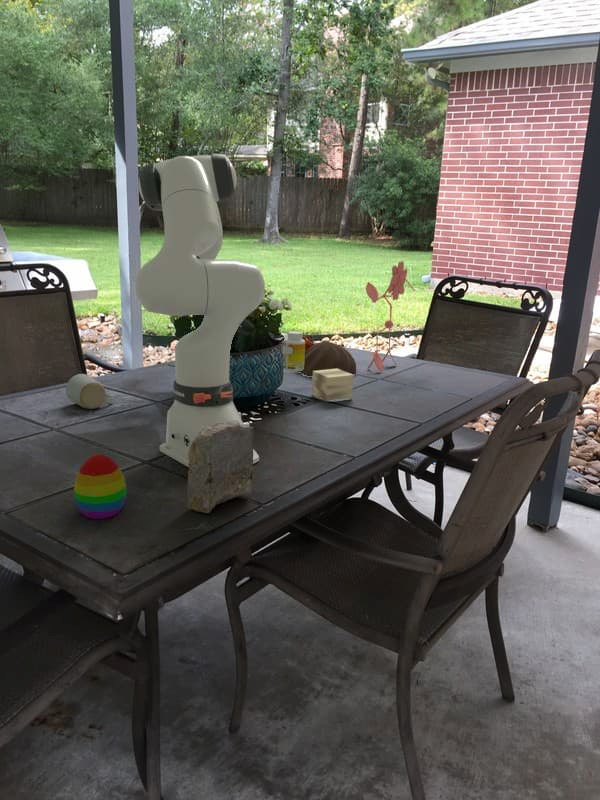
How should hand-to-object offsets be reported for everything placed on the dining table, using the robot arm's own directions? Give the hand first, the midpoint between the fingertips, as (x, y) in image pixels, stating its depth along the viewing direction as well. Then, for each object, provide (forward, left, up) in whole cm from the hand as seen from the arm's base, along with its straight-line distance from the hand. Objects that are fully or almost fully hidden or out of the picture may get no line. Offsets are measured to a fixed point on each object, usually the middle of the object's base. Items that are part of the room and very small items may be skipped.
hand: (297, 348), depth 178 cm
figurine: (+15, -45, -14) cm, 49 cm away
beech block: (-5, -9, -13) cm, 17 cm away
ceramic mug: (+13, +52, -14) cm, 55 cm away
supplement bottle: (+1, +1, -6) cm, 6 cm away
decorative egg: (-49, +64, -14) cm, 82 cm away
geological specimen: (-55, +46, -14) cm, 73 cm away
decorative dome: (+22, -23, -14) cm, 35 cm away
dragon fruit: (+44, -27, -14) cm, 54 cm away
